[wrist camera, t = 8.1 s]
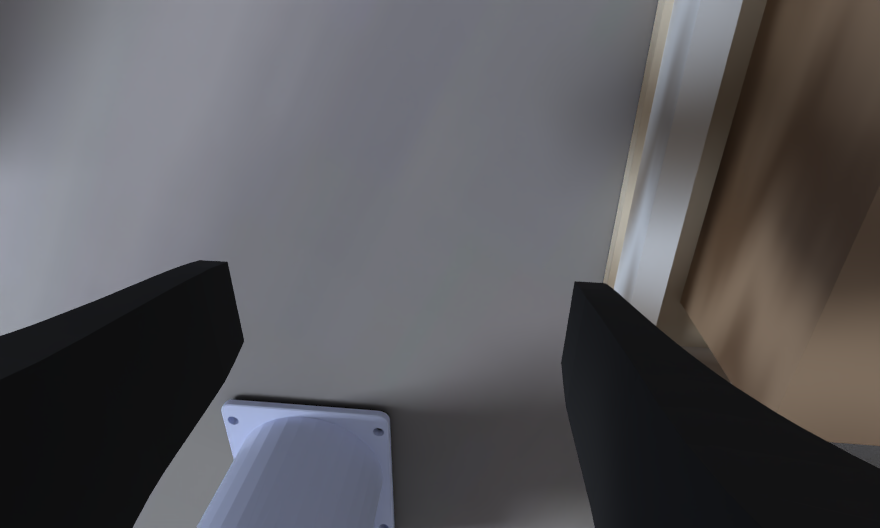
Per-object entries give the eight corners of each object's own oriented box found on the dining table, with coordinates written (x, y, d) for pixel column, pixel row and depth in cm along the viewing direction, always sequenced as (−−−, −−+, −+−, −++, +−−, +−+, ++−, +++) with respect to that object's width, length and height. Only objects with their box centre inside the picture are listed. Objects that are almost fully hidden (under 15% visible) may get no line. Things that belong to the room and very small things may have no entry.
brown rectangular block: (778, 307, 18) (910, 448, 12) (680, 302, 18) (765, 436, 13) (937, -89, 13) (1310, -165, 7) (793, -90, 13) (1036, -164, 7)
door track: (816, 366, 20) (859, 413, 18) (589, 351, 21) (601, 395, 18) (1106, -243, 11) (1258, -303, 9) (705, -236, 12) (755, -292, 10)
